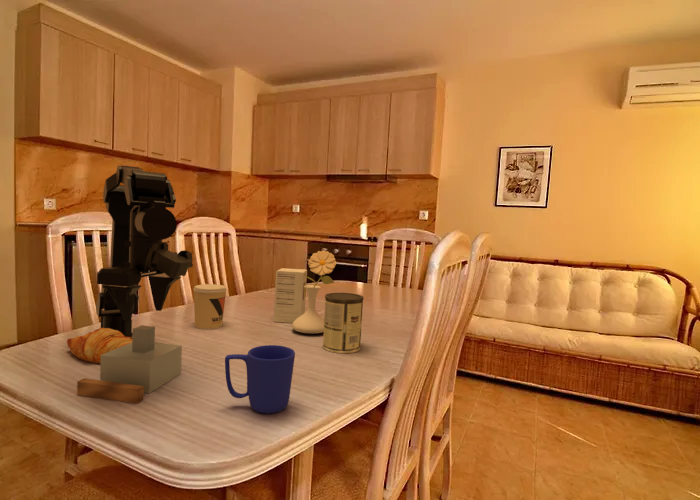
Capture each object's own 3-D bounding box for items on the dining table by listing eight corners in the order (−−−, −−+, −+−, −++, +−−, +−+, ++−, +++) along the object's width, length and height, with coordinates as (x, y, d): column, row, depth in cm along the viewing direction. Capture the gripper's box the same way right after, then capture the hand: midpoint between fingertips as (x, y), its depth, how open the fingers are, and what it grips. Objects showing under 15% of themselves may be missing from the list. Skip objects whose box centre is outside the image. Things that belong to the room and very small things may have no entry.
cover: (100, 386, 77) (101, 331, 76) (136, 367, 87) (137, 319, 86) (149, 393, 75) (150, 337, 74) (180, 373, 85) (182, 324, 84)
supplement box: (301, 324, 132) (304, 272, 131) (272, 322, 132) (275, 270, 131) (305, 317, 141) (307, 269, 140) (278, 315, 141) (280, 267, 140)
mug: (228, 396, 76) (230, 343, 75) (293, 397, 77) (296, 345, 76) (217, 417, 68) (220, 358, 67) (290, 418, 69) (293, 360, 68)
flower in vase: (283, 332, 120) (288, 248, 119) (302, 324, 131) (306, 247, 129) (323, 340, 115) (328, 252, 114) (339, 331, 126) (344, 250, 124)
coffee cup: (214, 331, 117) (216, 290, 117) (185, 327, 119) (186, 287, 118) (230, 324, 127) (232, 285, 126) (203, 320, 128) (204, 283, 128)
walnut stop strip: (77, 394, 73) (77, 381, 72) (83, 391, 74) (84, 378, 74) (138, 403, 71) (138, 389, 71) (143, 399, 72) (144, 386, 72)
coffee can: (333, 339, 116) (335, 290, 116) (366, 346, 112) (369, 295, 111) (315, 348, 107) (318, 295, 106) (350, 356, 103) (353, 301, 102)
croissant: (153, 375, 92) (166, 340, 95) (123, 368, 83) (138, 330, 86) (77, 360, 97) (92, 327, 100) (42, 351, 88) (59, 316, 91)
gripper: (153, 240, 69) (151, 331, 70) (208, 237, 87) (206, 309, 88) (95, 236, 71) (93, 325, 72) (161, 234, 89) (159, 304, 90)
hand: (144, 315), depth 80 cm, fingers open, 9 cm apart
